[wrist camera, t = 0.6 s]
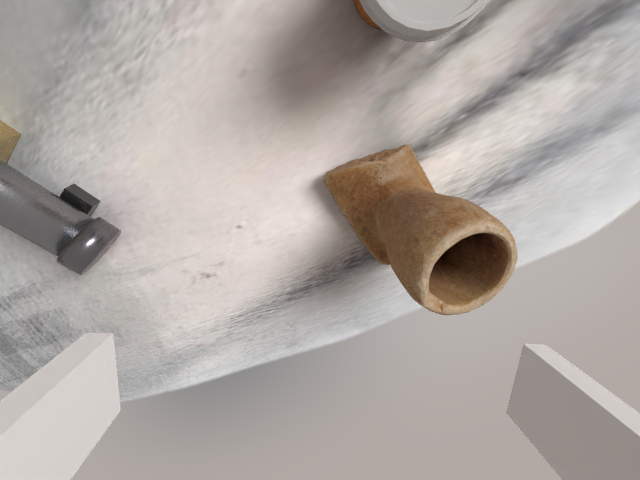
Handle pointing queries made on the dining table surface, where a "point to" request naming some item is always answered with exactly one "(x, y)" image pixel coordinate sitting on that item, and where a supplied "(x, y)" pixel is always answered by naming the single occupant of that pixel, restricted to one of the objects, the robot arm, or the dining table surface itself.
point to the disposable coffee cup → (419, 16)
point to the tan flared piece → (424, 232)
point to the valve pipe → (52, 214)
